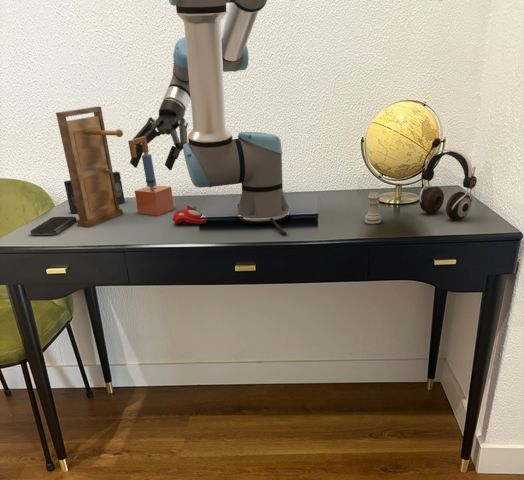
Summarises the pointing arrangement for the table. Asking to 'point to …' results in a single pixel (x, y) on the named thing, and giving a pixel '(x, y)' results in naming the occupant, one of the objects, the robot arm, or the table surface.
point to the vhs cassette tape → (72, 200)
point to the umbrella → (144, 160)
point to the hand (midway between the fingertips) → (150, 166)
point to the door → (89, 165)
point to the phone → (53, 226)
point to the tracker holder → (188, 215)
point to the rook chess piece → (373, 209)
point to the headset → (434, 195)
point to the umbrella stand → (154, 200)
